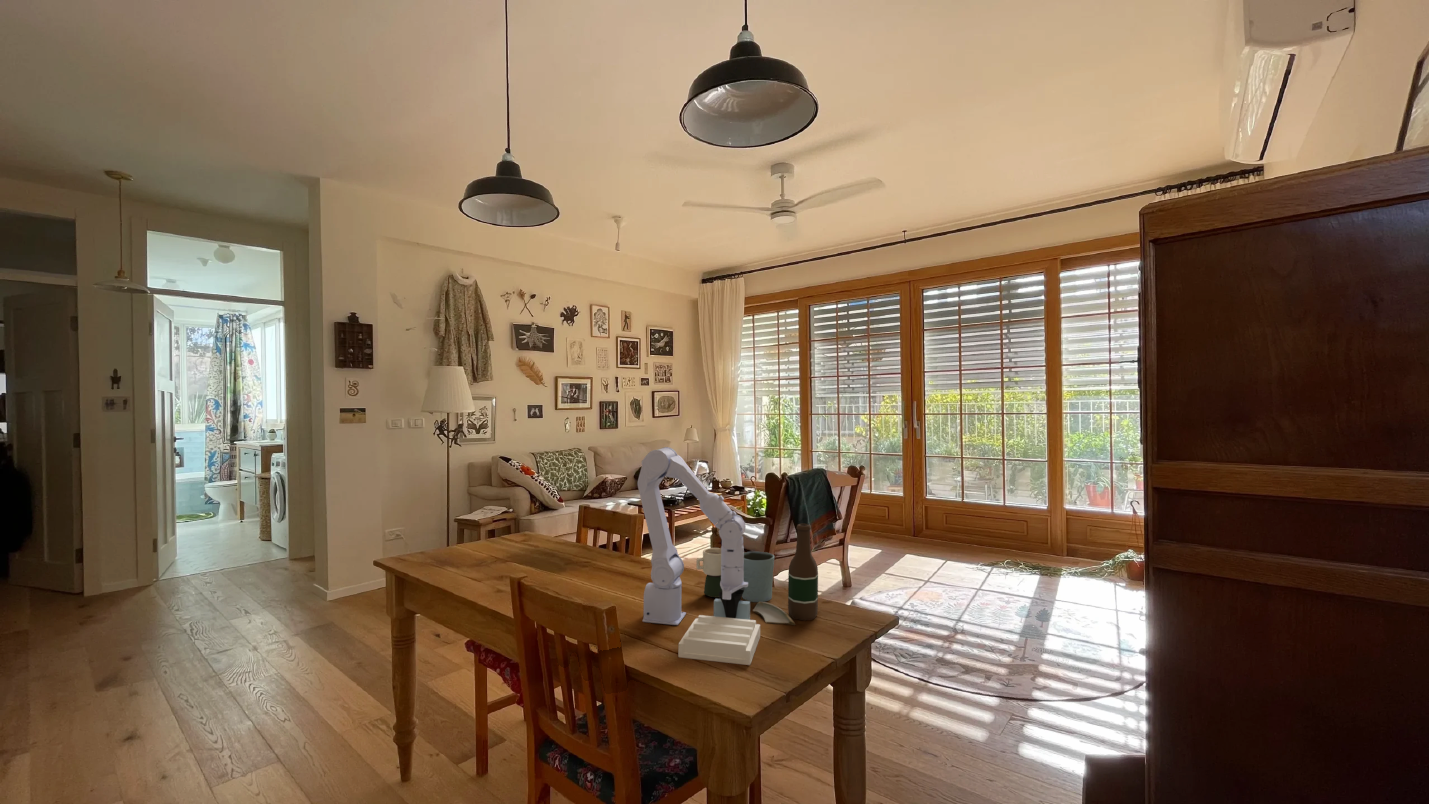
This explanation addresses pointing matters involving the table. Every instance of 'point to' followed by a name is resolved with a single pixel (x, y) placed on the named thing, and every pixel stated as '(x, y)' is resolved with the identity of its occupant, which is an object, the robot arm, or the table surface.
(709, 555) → the cream and green mug
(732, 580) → the robot arm
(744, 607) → the tile
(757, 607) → the ceramic fragment
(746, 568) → the light blue cup
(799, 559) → the beer bottle
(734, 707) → the table surface
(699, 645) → the rack
